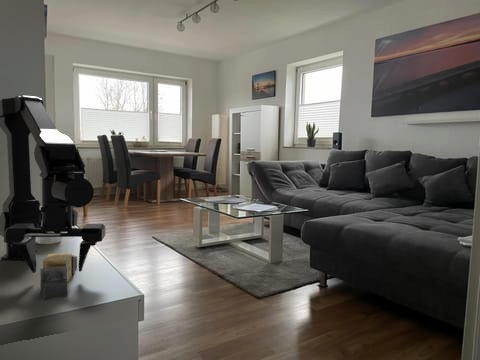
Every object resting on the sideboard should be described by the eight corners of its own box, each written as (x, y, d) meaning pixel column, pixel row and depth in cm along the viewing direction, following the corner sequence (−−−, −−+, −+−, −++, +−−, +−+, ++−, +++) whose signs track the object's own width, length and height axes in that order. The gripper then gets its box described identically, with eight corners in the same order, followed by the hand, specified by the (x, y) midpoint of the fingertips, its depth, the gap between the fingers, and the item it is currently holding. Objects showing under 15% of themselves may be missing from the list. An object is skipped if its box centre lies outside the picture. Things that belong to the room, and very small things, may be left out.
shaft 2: (57, 267, 86) (57, 249, 86) (78, 267, 87) (78, 249, 87) (50, 276, 81) (50, 256, 81) (73, 275, 82) (73, 256, 82)
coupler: (43, 286, 76) (42, 260, 75) (49, 278, 80) (49, 254, 79) (66, 285, 77) (66, 260, 76) (71, 277, 81) (71, 253, 80)
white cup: (56, 236, 113) (56, 204, 112) (68, 241, 108) (68, 208, 107) (29, 241, 107) (28, 207, 106) (40, 246, 102) (40, 211, 101)
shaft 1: (40, 289, 74) (40, 268, 73) (66, 285, 76) (66, 265, 76) (42, 299, 69) (41, 277, 69) (69, 295, 72) (69, 273, 71)
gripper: (109, 195, 86) (108, 258, 88) (23, 193, 82) (24, 260, 84) (101, 203, 75) (100, 275, 77) (1, 202, 72) (3, 278, 73)
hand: (57, 271), depth 78 cm, fingers open, 9 cm apart
